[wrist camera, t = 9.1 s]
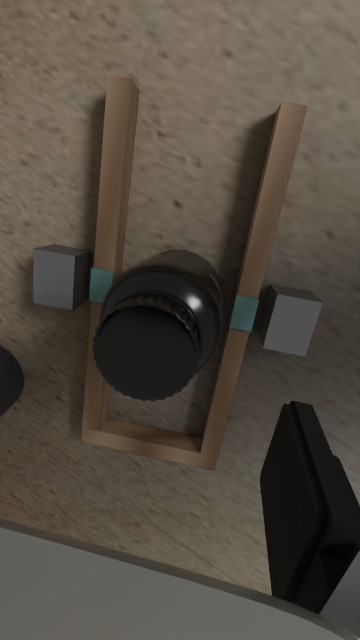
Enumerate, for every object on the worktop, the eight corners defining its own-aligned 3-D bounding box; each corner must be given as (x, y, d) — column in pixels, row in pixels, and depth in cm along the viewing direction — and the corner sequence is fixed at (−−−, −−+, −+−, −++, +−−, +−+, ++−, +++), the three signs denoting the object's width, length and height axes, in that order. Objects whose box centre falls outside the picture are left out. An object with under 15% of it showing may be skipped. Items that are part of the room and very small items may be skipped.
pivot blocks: (310, 291, 24) (323, 302, 21) (295, 340, 25) (305, 356, 23) (54, 244, 25) (33, 248, 22) (52, 293, 26) (32, 303, 24)
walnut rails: (300, 115, 21) (309, 104, 18) (214, 454, 30) (214, 473, 28) (116, 86, 21) (105, 73, 19) (88, 427, 30) (79, 443, 28)
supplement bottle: (241, 287, 25) (259, 353, 13) (184, 348, 27) (157, 449, 15) (172, 227, 24) (128, 243, 12) (119, 295, 26) (41, 360, 15)
